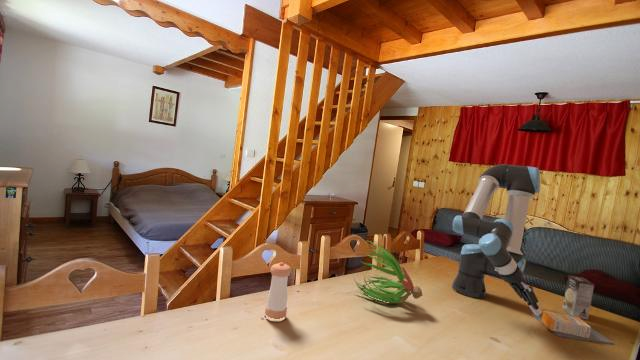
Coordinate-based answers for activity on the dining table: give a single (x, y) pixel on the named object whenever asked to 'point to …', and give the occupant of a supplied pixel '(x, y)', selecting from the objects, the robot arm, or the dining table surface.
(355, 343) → the dining table surface
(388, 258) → the decorative plant
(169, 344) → the dining table surface
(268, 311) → the pepper shaker
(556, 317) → the supplement box
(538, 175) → the robot arm
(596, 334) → the mat
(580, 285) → the coffee box
